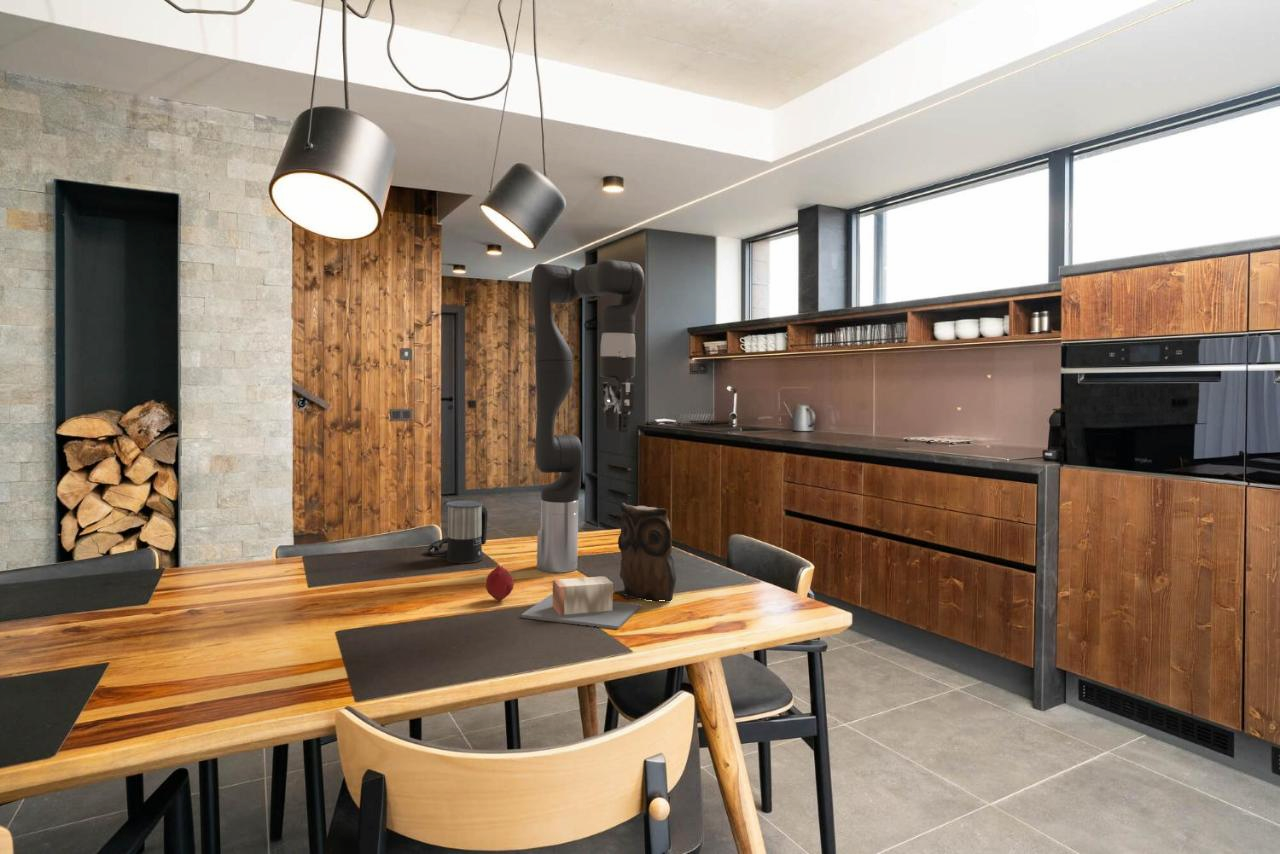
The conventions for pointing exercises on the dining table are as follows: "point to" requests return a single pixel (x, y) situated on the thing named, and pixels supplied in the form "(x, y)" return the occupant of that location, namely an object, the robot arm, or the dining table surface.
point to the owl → (646, 553)
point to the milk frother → (463, 532)
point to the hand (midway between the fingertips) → (616, 430)
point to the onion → (499, 583)
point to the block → (582, 595)
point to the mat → (583, 614)
